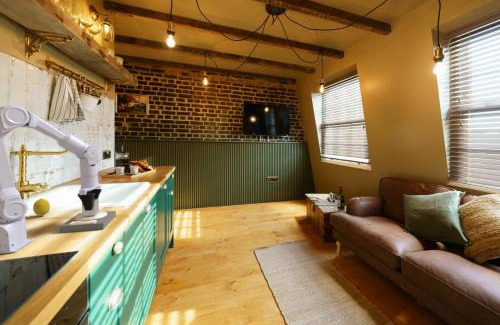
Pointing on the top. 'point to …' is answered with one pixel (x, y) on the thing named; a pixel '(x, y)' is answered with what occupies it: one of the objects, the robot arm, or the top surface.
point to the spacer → (94, 208)
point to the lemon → (41, 207)
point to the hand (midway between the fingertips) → (91, 208)
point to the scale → (88, 222)
